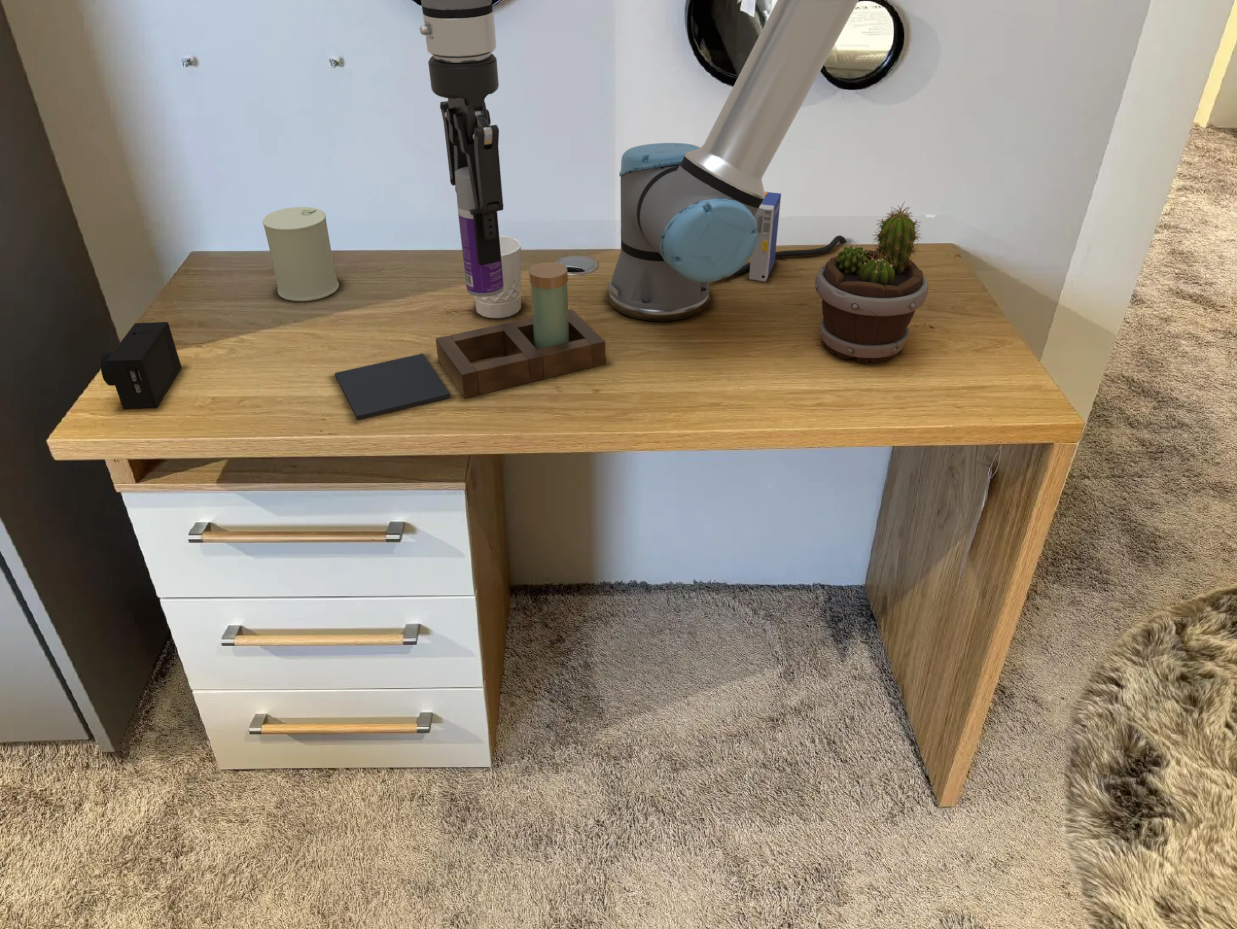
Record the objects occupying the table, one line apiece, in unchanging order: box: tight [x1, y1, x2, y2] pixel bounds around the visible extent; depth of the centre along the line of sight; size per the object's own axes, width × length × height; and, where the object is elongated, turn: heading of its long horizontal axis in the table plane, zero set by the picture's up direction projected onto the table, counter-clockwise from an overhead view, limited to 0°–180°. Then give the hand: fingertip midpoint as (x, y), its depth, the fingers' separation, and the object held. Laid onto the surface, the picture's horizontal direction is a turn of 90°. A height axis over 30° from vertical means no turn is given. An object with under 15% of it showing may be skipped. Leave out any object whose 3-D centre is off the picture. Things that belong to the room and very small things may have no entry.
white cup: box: [473, 235, 522, 319], centre depth 140 cm, size 8×8×10 cm
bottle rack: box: [435, 308, 606, 399], centre depth 129 cm, size 20×11×4 cm, turn 116°
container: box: [455, 167, 504, 297], centre depth 117 cm, size 5×5×15 cm
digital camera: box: [100, 321, 183, 410], centre depth 122 cm, size 10×5×7 cm, turn 4°
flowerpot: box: [814, 202, 929, 364], centre depth 127 cm, size 14×15×20 cm
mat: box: [334, 353, 451, 420], centre depth 124 cm, size 12×12×1 cm
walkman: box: [748, 191, 782, 282], centre depth 151 cm, size 8×3×12 cm, turn 162°
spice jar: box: [528, 261, 569, 349], centre depth 128 cm, size 5×5×13 cm
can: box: [262, 206, 340, 302], centre depth 146 cm, size 9×9×12 cm
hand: (481, 253), depth 119 cm, fingers closed on container, 5 cm apart
